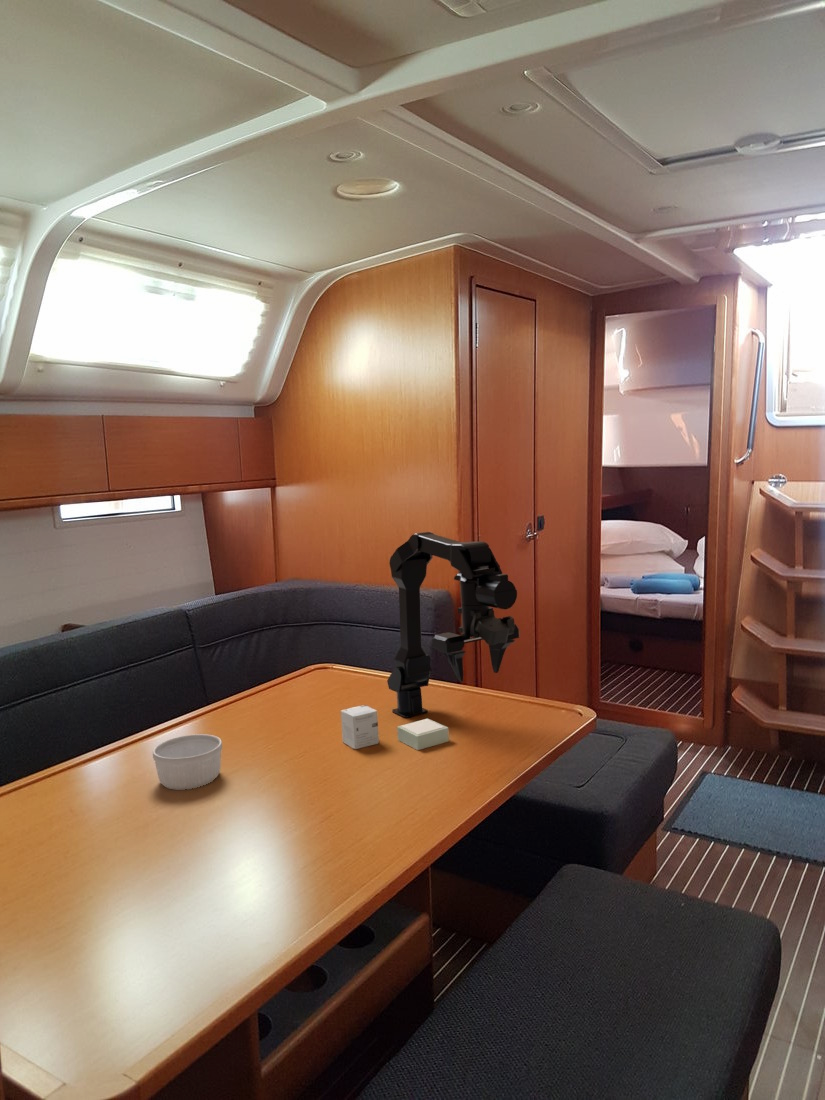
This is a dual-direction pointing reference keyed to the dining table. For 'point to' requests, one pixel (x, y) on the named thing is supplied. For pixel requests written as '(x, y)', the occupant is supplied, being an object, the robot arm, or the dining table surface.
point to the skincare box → (359, 726)
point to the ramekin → (188, 761)
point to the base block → (423, 734)
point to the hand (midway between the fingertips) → (478, 676)
